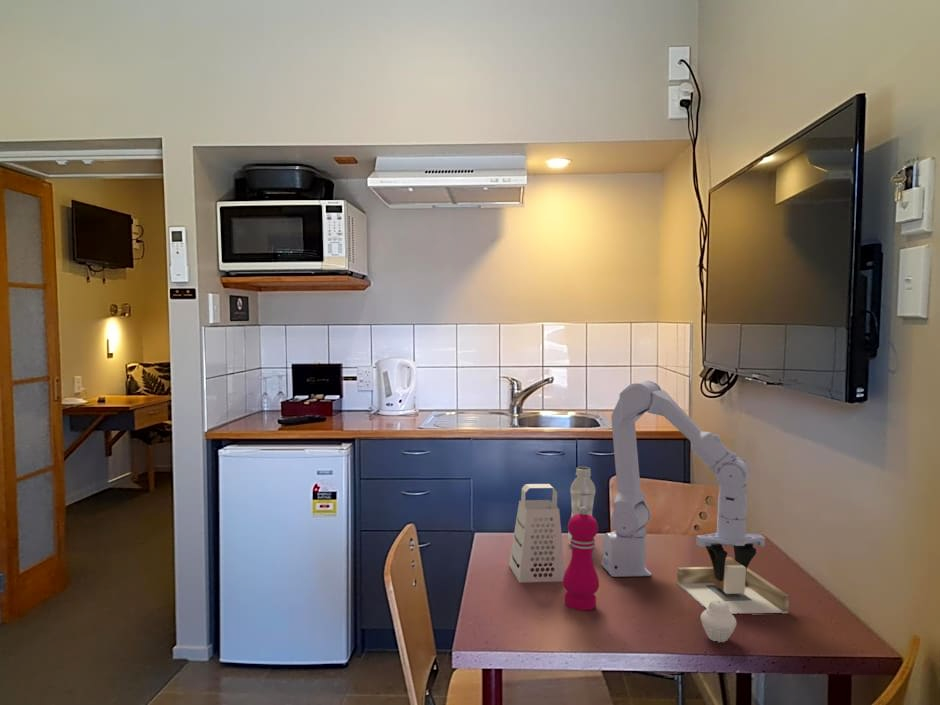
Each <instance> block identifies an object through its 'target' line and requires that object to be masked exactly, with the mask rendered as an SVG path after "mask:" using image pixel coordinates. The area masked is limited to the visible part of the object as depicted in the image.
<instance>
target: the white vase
mask: <svg viewBox="0 0 940 705" xmlns="http://www.w3.org/2000/svg"><path fill="white" fill-rule="evenodd" d="M700 621H701V625H702V627H703V629H704V631H705V634H706V635H707V638H708V639H710V640H711V641H713V642H715V641H718V642H717V643H720V642H721V641H722V642H723V643H726V642H727V641H728V640H729V639H730V637H731V635H732V634H733V633H734V632H735V628H736V627H737V619H736V617H735V615H732V614H731V612H730V611H729V606H728V605H727V604H726V603H724V602H722V601H712V602H711V603H709V607H708V608H707V609H704V610H703V611H702V613H701V614H700ZM725 641H726V642H725ZM722 642H721V643H722Z"/></svg>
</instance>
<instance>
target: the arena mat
mask: <svg viewBox="0 0 940 705" xmlns="http://www.w3.org/2000/svg"><path fill="white" fill-rule="evenodd" d="M676 584H677V585H678V586H679V587H680V588H681V589H682V590H684V591H685V593H687V594H688V595H689V596H690V595H691V596H690V597H691V598H692V599H694V601H696V602H697V601H698V602H699V603H700V606H702V607H703V606H704V607H705V608H706V609H707V608H708V607H709V603H711V602H712V601H722V602H724V603H726V604H727V605H728V606H729V611H730V612H731V614H737V613H740V614H741V613H782V614H789V610H788V611H785V612H783V611H781V610H780V609H779V608H777V607H776V606H774V605H773V604H772V603H770V602H769V601H767V600H766V599H765V598H763V597H762V596H761V595H759V594H758V593H756V592H755V591H754V590H752V589H751V588H749V587H748V586H747V585H745V593H740V594H726V593H725V592H724V591H723V590H721V589H720V588H719V587H718V586H716V585H715V584H714V583H693V584H679V583H678V582H677V581H676ZM698 602H697V603H698ZM699 603H698V604H699ZM704 607H703V608H704ZM705 608H704V609H705ZM706 609H705V610H706Z"/></svg>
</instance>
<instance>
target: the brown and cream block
mask: <svg viewBox="0 0 940 705" xmlns="http://www.w3.org/2000/svg"><path fill="white" fill-rule="evenodd" d="M745 575H746V567H744V566H743V565H741V564H740V563H739V562H737V561H736V560H735V558H733V557H731V556H726V560H725V565H724V577H723V581H719V580H718V579H716V578H715V573H714V568H713V573H712V582H713V583H714V584H715V585H716V586H718V587H719V588H720V589H721V590H723V591H724V592H725V593H726V594H740V593H745Z"/></svg>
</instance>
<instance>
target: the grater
mask: <svg viewBox="0 0 940 705" xmlns="http://www.w3.org/2000/svg"><path fill="white" fill-rule="evenodd" d="M530 489H552V498H551V499H552V500H550V499H536V500H535V499H534V500H533V499H532V500H531V499H529V500H528V499H527V500H526V493H527V492H528V491H529V490H530ZM520 495H521V496H520V500H519V501H518V506H517V507H518V508H517V513H516V518H515V525H514V532H513V538H512V545H511V552H510V557H509V563H508V566H509V567H510V569H511V570H512V573H513V574H514V576H515V578H516V579H517V581H518V583H544V582H545V583H548V582H553V583H554V582H563V577H564V574H565V571H566V569H565V561H564V560H565V559H564V551H563V550H564V549H563V537H562V536H563V535H562V528H561V515H560V508H559V507H558V491H557V490H556V489H555V488H554V487H553V486H552V485H551V484H550V483H528V484H527V483H526V484H523V486H522V487H521V494H520ZM551 564H552V565H551ZM517 565H518V566H519V567H518V566H517ZM535 565H536V566H535ZM539 565H541V566H539ZM550 565H551V566H550ZM547 568H548V569H549V570H548V571H547ZM552 568H553V569H554V570H552ZM531 569H533V571H531ZM536 569H539V570H538V571H537V570H536ZM541 569H544V570H543V571H542V570H541ZM535 574H536V576H534V575H535ZM539 574H541V576H540V575H539ZM545 574H547V575H546V576H545ZM550 574H551V576H549V575H550Z"/></svg>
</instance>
